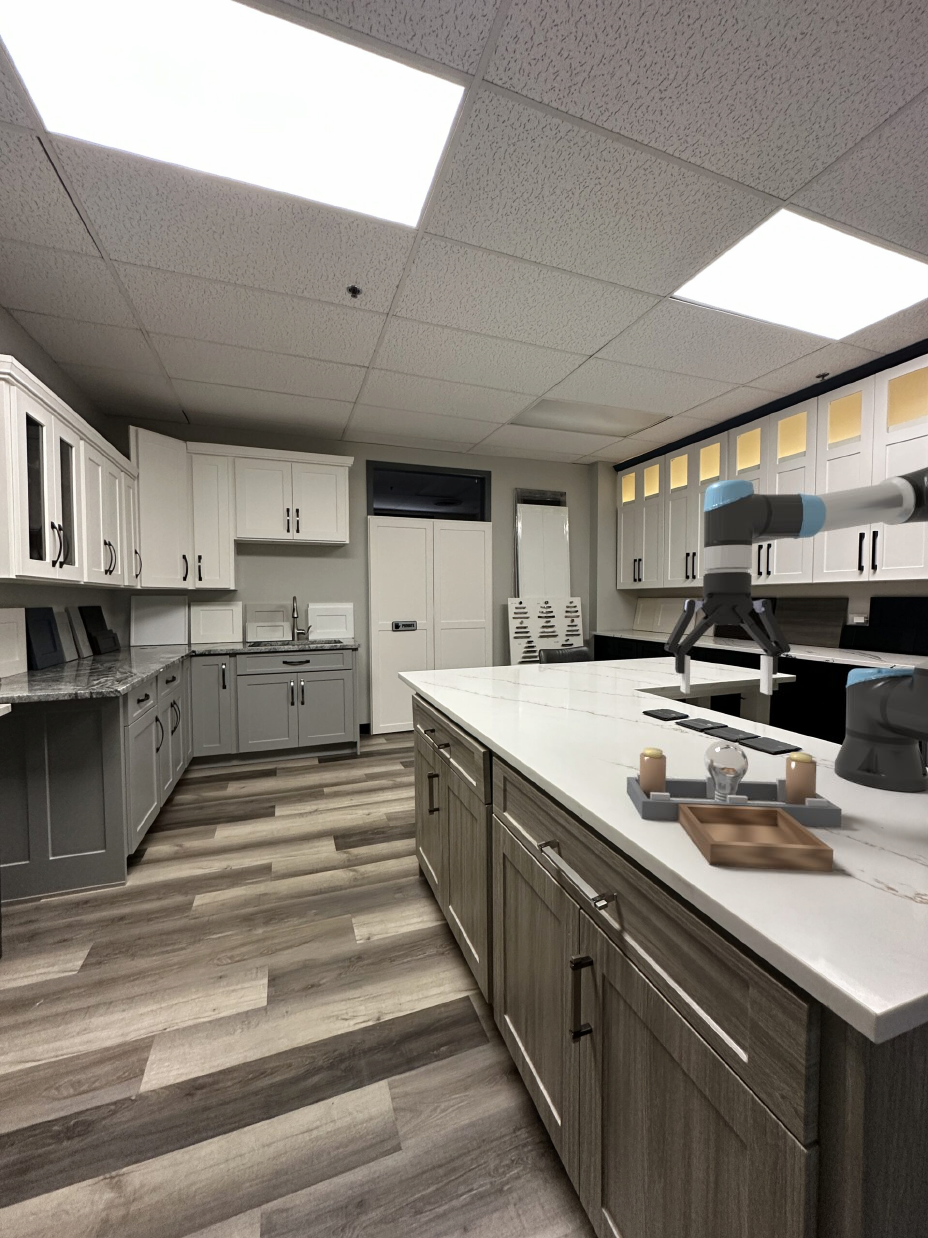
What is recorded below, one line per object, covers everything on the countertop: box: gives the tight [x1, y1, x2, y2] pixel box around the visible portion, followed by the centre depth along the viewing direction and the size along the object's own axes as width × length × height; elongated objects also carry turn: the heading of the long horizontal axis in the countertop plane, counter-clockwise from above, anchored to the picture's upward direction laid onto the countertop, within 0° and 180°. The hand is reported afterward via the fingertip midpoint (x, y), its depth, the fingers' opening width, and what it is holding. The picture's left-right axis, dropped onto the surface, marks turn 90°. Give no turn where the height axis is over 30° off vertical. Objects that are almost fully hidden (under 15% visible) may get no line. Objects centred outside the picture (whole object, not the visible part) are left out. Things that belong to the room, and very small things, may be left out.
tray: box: [677, 804, 834, 872], centre depth 77 cm, size 16×14×3 cm
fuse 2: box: [784, 751, 817, 805], centre depth 89 cm, size 4×4×10 cm
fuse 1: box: [639, 747, 667, 799], centre depth 91 cm, size 4×4×10 cm
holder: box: [626, 772, 843, 828], centre depth 90 cm, size 31×12×4 cm, turn 84°
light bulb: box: [703, 740, 749, 802], centre depth 90 cm, size 7×7×12 cm
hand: (725, 692), depth 90 cm, fingers open, 13 cm apart
